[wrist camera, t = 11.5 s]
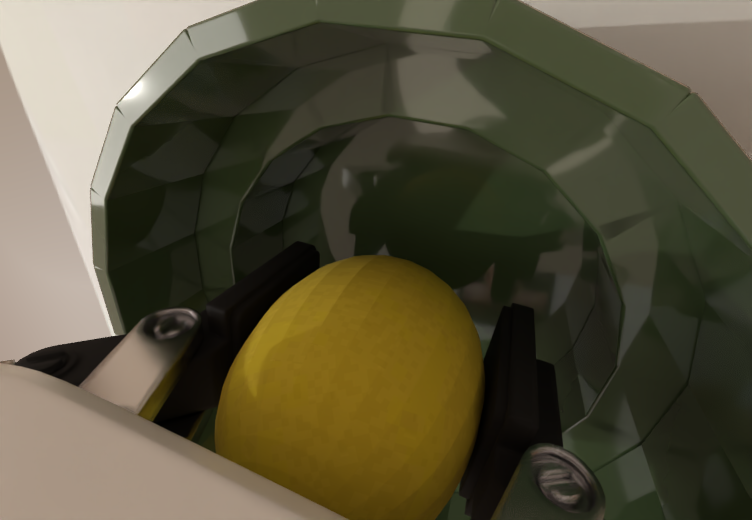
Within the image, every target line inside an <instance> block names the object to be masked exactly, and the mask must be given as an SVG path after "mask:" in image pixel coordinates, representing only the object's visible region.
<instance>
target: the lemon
mask: <svg viewBox="0 0 752 520" xmlns="http://www.w3.org/2000/svg"><path fill="white" fill-rule="evenodd" d="M484 397H485V370H484V363H483V356H482V349H481V342H480V338H479V335H478V332H477V329H476V327H475V325H474V323H473V321H472V319H471V316H470V314H469V312H468V310H467V308H466V306H465V304H464V303H463V302H462V301H461V299H460V298H459V297H458V296H457V295H456V293H455V292H454V291H453V290H452V288H451V287H450V286H449V285H448V284H447V283H445V282H444V281H443V280H441V279H440V278H439V277H438V276H436V275H435V274H434V273H432V272H431V271H430V270H428V269H426V268H424V267H422V266H420V265H418V264H416V263H413V262H411V261H409V260H405V259H401V258H396V257H392V256H387V255H361V256H354V257H351V258H347V259H344V260H340V261H337V262H334V263H331V264H328V265H325V266H323V267H321V268H319V269H318V270H316V271H315V272H313V273H312V274H310V275H309V276H307V277H306V278H304V279H303V280H301V281H300V282H298V283H297V284H295V285H294V286H292V287H291V288H290V289H289V290H287V291H286V292H285V293H284V294H283V295H282V296H281V297H280V298H279V299H278V300H277V301H276V302H275V303H274V304H273V305H272V306H271V307H270V308H269V310H268V311H267V312H266V313H265V314H264V316H263V317H262V319H261V320H260V321H259V323H258V324H257V326H256V327H255V329H254V330H253V331H252V333H251V334H250V336H249V337H248V338H247V340H246V341H245V343H244V345H243V346H242V348H241V349H240V351H239V353H238V354H237V356H236V358H235V360H234V362H233V364H232V365H231V367H230V369H229V372H228V374H227V377H226V379H225V382H224V384H223V387H222V392H221V396H220V401H219V405H218V410H217V415H216V419H215V448H216V454H218V455H220V456H222V457H224V458H226V459H228V460H230V461H232V462H234V463H236V464H238V465H240V466H242V467H244V468H246V469H248V470H250V471H252V472H254V473H256V474H258V475H260V476H262V477H264V478H266V479H268V480H270V481H272V482H274V483H276V484H279V485H281V486H283V487H285V488H287V489H289V490H291V491H293V492H295V493H297V494H299V495H301V496H303V497H305V498H307V499H309V500H311V501H313V502H315V503H317V504H319V505H321V506H323V507H325V508H327V509H329V510H331V511H333V512H335V513H337V514H339V515H341V516H343V517H345V518H347V519H349V520H435V519H436V518H437V516H438V515H439V514H440V512H441V511H442V509H443V508H444V507H445V505H446V504H447V503H448V501H449V500H450V498H451V497H452V495H453V493H454V491H455V490H456V488H457V486H458V484H459V482H460V480H461V478H462V476H463V474H464V472H465V470H466V468H467V465H468V463H469V460H470V457H471V455H472V452H473V449H474V446H475V442H476V439H477V435H478V430H479V425H480V420H481V414H482V409H483V404H484Z"/></svg>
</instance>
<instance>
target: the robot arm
mask: <svg viewBox="0 0 752 520" xmlns="http://www.w3.org/2000/svg"><path fill="white" fill-rule="evenodd" d="M319 267H320V253H319V251H316V248H315V246H314V245H311V244H307V243H304V242H301V241H296V242H295V243H293V244H292V245H290V246H289V247H287V248H286V249H285V250H283V251H282V252H280V253H279V254H277V255H276V256H275V257H273V258H272V259H270V260H269V261H267V262H266V263H264V264H263V265H262V266H260V267H259V268H257V269H256V270H254V271H253V272H252V273H250V274H249V275H247V276H246V277H244V278H243V279H242V280H240V281H239V282H237V283H236V284H234V285H233V286H232V287H230V288H229V289H227V290H226V291H224V292H223V293H222V294H220V295H219V296H217V297H216V298H214V299H213V300H211V301H210V302H209V303H207V304H206V309H205V310H203V311H202V312H201V313H199V312H198V311H196V310H195V309H193V308H189V307H184V306H174V307H168V308H163V309H160V310H157V311H155V312H153V313H151V314H149V315H147V316H146V317H144V318H143V319H142V320H141V321H140V322H139V323H138V324H137V325H136V326H135V327H134V328H133V329H132V330H131V331H130V332H129V333H128V334H124V335H117V336H111V337H105V338H99V339H94V340H87V341H81V342H75V343H68V344H62V345H57V346H52V347H48V348H44V349H41V350H39V351H36V352H33V353H31V354H29V355H28V356H26V357H24V358H22V359H20V360H19V361H18V362H15V360H8V361H1V362H0V520H349V519H347V518H345V517H343V516H341V515H339V514H337V513H335V512H333V511H331V510H329V509H327V508H325V507H323V506H321V505H319V504H317V503H315V502H313V501H311V500H309V499H307V498H305V497H303V496H301V495H299V494H297V493H295V492H293V491H291V490H289V489H287V488H285V487H283V486H281V485H279V484H276V483H274V482H272V481H270V480H268V479H266V478H264V477H262V476H260V475H258V474H256V473H254V472H252V471H250V470H248V469H246V468H244V467H242V466H240V465H238V464H236V463H234V462H232V461H230V460H228V459H226V458H224V457H222V456H220V455H218V454H216V453H214V452H212V451H210V450H208V449H206V448H204V447H202V446H200V445H198V444H197V443H198V441H199V439H200V437H201V435H202V433H203V431H204V429H205V427H206V425H207V423H208V421H209V419H210V417H211V415H212V413H213V410H214V408H215V407H218V405H219V401H220V396H221V392H222V387H223V384H224V382H225V379H226V377H227V374H228V372H229V369H230V367H231V365H232V364H233V362H234V360H235V358H236V356H237V354H238V353H239V351H240V349H241V348H242V346H243V345H244V343H245V341H246V340H247V338H248V337H249V336H250V334H251V333H252V331H253V330H254V329H255V327H256V326H257V324H258V323H259V321H260V320H261V319H262V317H263V316H264V314H265V313H266V312H267V311H268V310H269V308H270V307H271V306H272V305H273V304H274V303H275V302H276V301H277V300H278V299H279V298H280V297H281V296H282V295H283V294H284V293H285V292H286V291H287V290H289V289H290V288H291V287H292V286H294V285H295V284H297V283H298V282H300V281H301V280H303V279H304V278H306V277H307V276H309V275H310V274H312V273H313V272H315V271H316V270H318V269H319ZM483 363H484V370H485V397H484V404H483V409H482V414H481V420H480V425H479V430H478V435H477V439H476V442H475V446H474V449H473V452H472V455H471V457H470V460H469V463H468V465H467V468H466V470H465V472H464V474H463V476H462V478H461V481H460V487H459V496H462V497H464V498H466V505H465V513H464V514H465V515H467V516H470V517H471V519H470V520H605V519H604V513H605V500H606V498H605V494H604V491H603V488H602V485H601V484H600V482H599V480H598V479H597V477H596V475H595V474H594V472H593V471H592V470H591V469H590V468H589V467H588V466H587V465H586V463H585V462H584V461H582V460H581V459H580V458H579V457H577V456H576V455H575V454H573V453H572V452H570V451H568V450H566V449H564V448H563V439H562V430H561V420H560V411H559V402H558V393H557V384H556V375H555V368H554V365H553V364H551V363H548V362H545V361H542V360H539V359H536V342H535V321H534V309H533V308H530V307H527V306H523V305H520V304H516V303H512V305H511V307H508V306H505V305H504V306H503V307H502V310H501V313H500V315H499V318H498V321H497V324H496V327H495V329H494V332H493V335H492V338H491V341H490V343H489V346H488V349H487V352H486V355H485V357H484V360H483Z"/></svg>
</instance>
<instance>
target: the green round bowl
mask: <svg viewBox="0 0 752 520" xmlns="http://www.w3.org/2000/svg"><path fill="white" fill-rule="evenodd" d="M90 200H91V224H92V248H93V264H94V269H95V272H96V275H97V278H98V282H99V285H100V288H101V291H102V294H103V298H104V301H105V304H106V307H107V310H108V314H109V317H110V320H111V323H112V326H113V330H114V333H115V334H116V336H117V335H124V334H128V333H129V332H130V331H131V330H132V329H133V328H134V327H135V326H136V325H137V324H138V323H139V322H140V321H141V320H142V319H143V318H144V317H146V316H147V315H149V314H151V313H153V312H155V311H157V310H160V309H163V308H168V307H174V306H184V307H189V308H193V309H195V310H196V311H198V312H199V313H201V312H202V311H203V310H205V309H206V304H207V303H209V302H210V301H211V300H213V299H214V298H216V297H217V296H219V295H220V294H222V293H223V292H224V291H226V290H227V289H229V288H230V287H232V286H233V285H234V284H236V283H237V282H239V281H240V280H242V279H243V278H244V277H246V276H247V275H249V274H250V273H252V272H253V271H254V270H256V269H257V268H259V267H260V266H262V265H263V264H264V263H266V262H267V261H269V260H270V259H272V258H273V257H275V256H276V255H277V254H279V253H280V252H282V251H283V250H285V249H286V248H287V247H289V246H290V245H292V244H293V243H295V242H296V241H301V242H304V243H307V244H311V245H314V246H315V248H316V251H319V253H320V267H319V268H321V267H323V266H325V265H328V264H331V263H334V262H337V261H340V260H344V259H347V258H351V257H354V256H361V255H387V256H392V257H396V258H401V259H405V260H409V261H411V262H413V263H416V264H418V265H420V266H422V267H424V268H426V269H428V270H430V271H431V272H432V273H434V274H435V275H436V276H438V277H439V278H440V279H441V280H443V281H444V282H445V283H447V284H448V285H449V286H450V287H451V288H452V290H453V291H454V292H455V293H456V295H457V296H458V297H459V298H460V299H461V301H462V302H463V303H464V304H465V306H466V308H467V310H468V312H469V314H470V316H471V319H472V321H473V323H474V325H475V327H476V329H477V332H478V335H479V338H480V342H481V349H482V356H483V360H484V357H485V355H486V352H487V349H488V346H489V343H490V341H491V338H492V335H493V332H494V329H495V327H496V324H497V321H498V318H499V315H500V313H501V310H502V307H503V306H504V305H505V306H508V307H511V305H512V303H516V304H520V305H523V306H527V307H530V308H533V309H534V321H535V342H536V359H539V360H542V361H545V362H548V363H551V364H553V365H554V368H555V375H556V384H557V393H558V402H559V411H560V420H561V430H562V439H563V448H564V449H566V450H568V451H570V452H572V453H573V454H575V455H576V456H577V457H579V458H580V459H581V460H582V461H584V462H585V463H586V465H587V466H588V467H589V468H590V469H591V470H592V471H593V472H594V474H595V475H596V477H597V479H598V480H599V482H600V484H601V485H602V488H603V491H604V494H605V498H606V500H605V513H604V519H605V520H752V160H751V159H750V158H749V157H748V155H747V154H746V153H745V152H744V150H743V149H742V148H741V147H740V145H739V144H738V143H737V142H736V140H735V139H734V138H733V137H732V135H731V134H730V133H729V132H728V130H727V129H726V128H725V127H724V126H723V124H722V123H721V122H720V121H719V119H718V118H717V117H716V116H715V114H714V113H713V112H712V111H711V109H710V108H709V107H708V106H707V104H706V103H705V102H704V101H703V99H702V98H701V97H700V96H699V95H698V93H695V92H691V89H690V88H689V87H688V86H686V85H684V84H683V83H681V82H679V81H677V80H675V79H673V78H671V77H669V76H667V75H665V74H663V73H661V72H659V71H657V70H655V69H653V68H651V67H649V66H647V65H645V64H643V63H641V62H639V61H637V60H636V59H634V58H632V57H630V56H628V55H626V54H624V53H622V52H620V51H618V50H616V49H614V48H612V47H610V46H608V45H606V44H604V43H602V42H600V41H598V40H596V39H594V38H592V37H591V36H589V35H587V34H585V33H583V32H581V31H579V30H577V29H575V28H573V27H571V26H569V25H567V24H565V23H563V22H561V21H559V20H557V19H555V18H553V17H551V16H549V15H547V14H545V13H544V12H542V11H540V10H538V9H536V8H534V7H532V6H530V5H528V4H526V3H524V2H522V1H520V0H256V1H253V2H251V3H248V4H245V5H243V6H240V7H238V8H235V9H232V10H230V11H227V12H225V13H222V14H219V15H217V16H214V17H212V18H209V19H206V20H204V21H201V22H198V23H196V24H193V25H191V26H188V27H187V29H184V30H183V31H182V32H181V33H180V34H179V35H178V37H177V38H176V39H175V40H174V41H173V42H172V43H171V44H170V45H169V47H168V48H167V49H166V50H165V51H164V52H163V53H162V54H161V55H160V56H159V58H158V59H157V60H156V61H155V62H154V63H153V64H152V65H151V66H150V68H149V69H148V70H147V71H146V72H145V73H144V74H143V75H142V76H141V77H140V79H139V80H138V81H137V82H136V83H135V84H134V85H133V86H132V87H131V88H130V90H129V91H128V92H127V93H126V94H125V95H124V96H123V97H122V98H121V100H120V101H119V102H118V103H117V106H116V107H115V109H114V113H113V116H112V119H111V122H110V125H109V129H108V132H107V135H106V138H105V141H104V145H103V148H102V151H101V154H100V157H99V161H98V164H97V167H96V170H95V173H94V177H93V180H92V183H91V188H90ZM217 410H218V407H215V408H214V410H213V413H212V415H211V417H210V419H209V421H208V423H207V425H206V427H205V429H204V431H203V433H202V435H201V437H200V439H199V441H198V443H197V444H198V445H200V446H202V447H204V448H206V449H208V450H210V451H212V452H214V453H216V448H215V419H216V415H217ZM460 481H461V480H460ZM459 487H460V482H459V484H458V486H457V488H456V490H455V491H454V493H453V495H452V497H451V498H450V500H449V501H448V503H447V504H446V505H445V507H444V508H443V509H442V511H441V512H440V514H439V515H438V516H437V518H436V519H435V520H470V519H471V517H470V516H467V515H465V514H464V513H465V505H466V498H464V497H462V496H459Z"/></svg>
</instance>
